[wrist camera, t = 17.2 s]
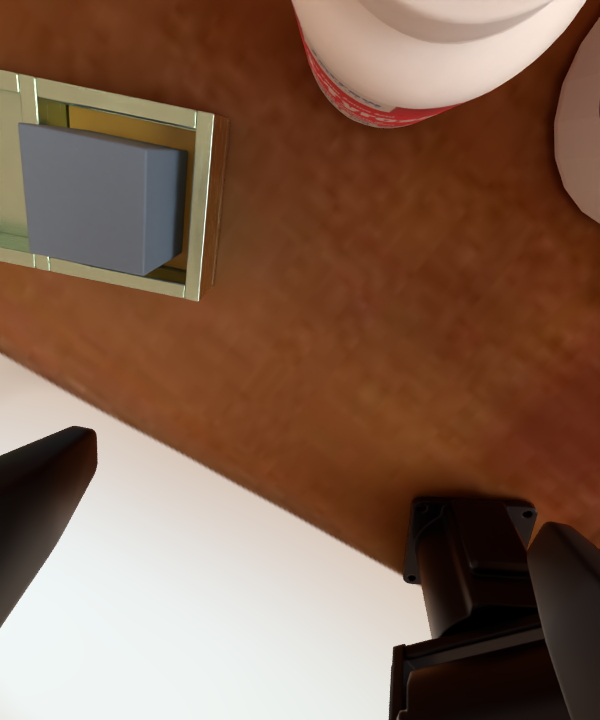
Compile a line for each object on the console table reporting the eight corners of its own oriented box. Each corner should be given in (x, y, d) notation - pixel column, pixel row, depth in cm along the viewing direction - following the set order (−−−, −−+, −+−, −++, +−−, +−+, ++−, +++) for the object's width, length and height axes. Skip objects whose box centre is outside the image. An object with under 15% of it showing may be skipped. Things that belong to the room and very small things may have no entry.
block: (189, 151, 16) (146, 148, 13) (182, 253, 18) (143, 277, 15) (87, 129, 16) (16, 121, 13) (90, 234, 18) (28, 253, 15)
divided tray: (230, 119, 16) (214, 113, 14) (214, 286, 19) (198, 302, 17) (-97, 51, 16) (-164, 35, 14) (-64, 229, 19) (-115, 238, 17)
